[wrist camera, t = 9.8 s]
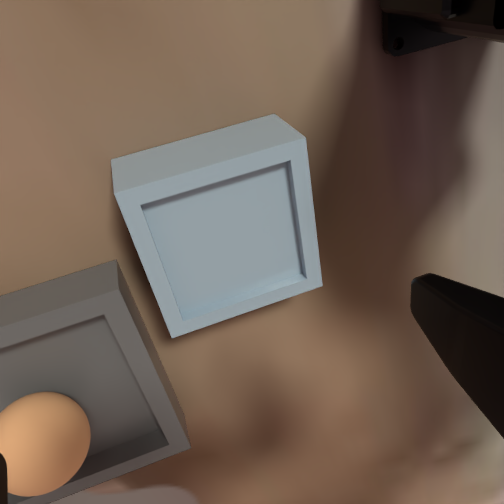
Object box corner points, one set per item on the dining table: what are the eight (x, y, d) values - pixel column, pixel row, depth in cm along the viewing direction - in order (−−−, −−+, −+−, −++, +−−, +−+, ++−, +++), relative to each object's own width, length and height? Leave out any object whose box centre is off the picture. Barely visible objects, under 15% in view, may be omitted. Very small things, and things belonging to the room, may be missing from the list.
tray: (116, 259, 21) (118, 289, 19) (184, 414, 27) (191, 448, 25) (-162, 347, 19) (-192, 389, 17) (-16, 489, 26) (-25, 532, 24)
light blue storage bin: (274, 113, 19) (305, 137, 16) (294, 248, 23) (322, 286, 20) (110, 159, 18) (113, 193, 15) (162, 292, 22) (171, 338, 19)
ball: (67, 358, 21) (68, 433, 18) (101, 413, 24) (108, 489, 20) (-28, 395, 20) (-47, 481, 17) (17, 448, 23) (9, 532, 19)
